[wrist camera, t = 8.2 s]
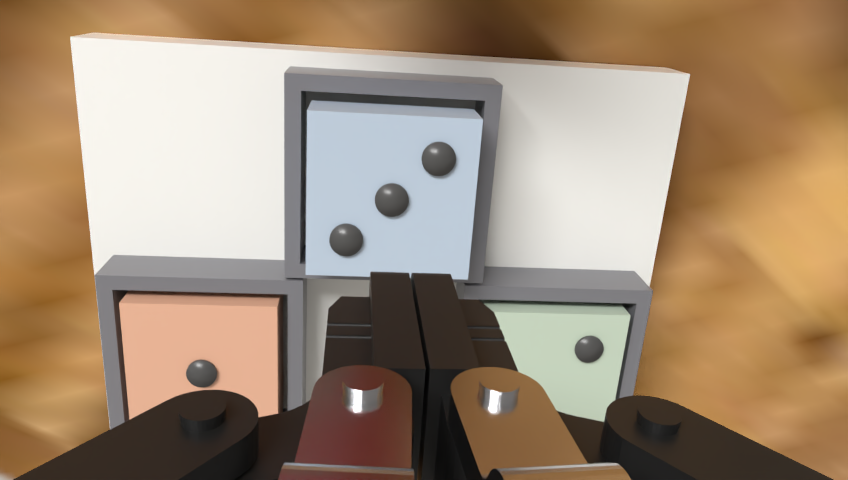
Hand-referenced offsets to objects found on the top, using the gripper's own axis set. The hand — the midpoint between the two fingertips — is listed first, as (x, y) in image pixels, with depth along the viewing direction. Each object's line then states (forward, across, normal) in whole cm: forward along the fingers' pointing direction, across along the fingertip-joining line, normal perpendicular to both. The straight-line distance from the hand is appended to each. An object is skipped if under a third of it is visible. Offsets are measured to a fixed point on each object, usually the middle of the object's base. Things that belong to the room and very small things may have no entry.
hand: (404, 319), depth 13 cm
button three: (+10, 0, 0) cm, 10 cm away
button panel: (+13, 0, +4) cm, 14 cm away
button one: (+11, +6, +7) cm, 14 cm away
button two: (+11, -6, +7) cm, 14 cm away
